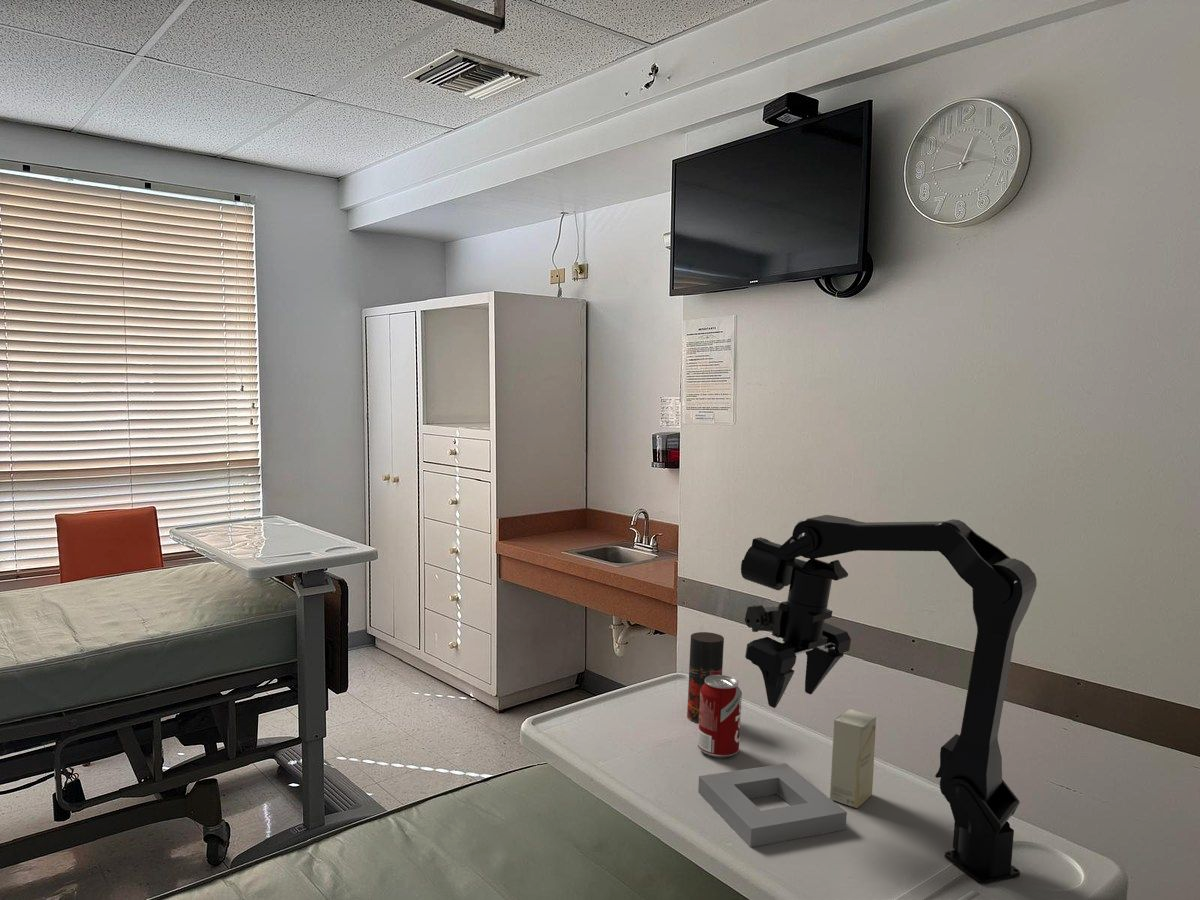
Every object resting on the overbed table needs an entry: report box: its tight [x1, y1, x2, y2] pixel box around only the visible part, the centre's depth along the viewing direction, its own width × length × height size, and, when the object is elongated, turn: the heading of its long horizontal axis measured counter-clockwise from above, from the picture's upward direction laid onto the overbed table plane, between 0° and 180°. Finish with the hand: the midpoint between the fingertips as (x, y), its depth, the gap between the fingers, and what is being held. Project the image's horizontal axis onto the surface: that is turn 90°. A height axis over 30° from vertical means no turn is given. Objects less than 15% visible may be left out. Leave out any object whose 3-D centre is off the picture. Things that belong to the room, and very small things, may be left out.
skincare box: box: [829, 708, 877, 809], centre depth 122 cm, size 6×4×12 cm
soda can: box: [697, 674, 743, 759], centre depth 135 cm, size 7×7×12 cm
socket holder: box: [697, 763, 848, 848], centre depth 117 cm, size 15×15×2 cm
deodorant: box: [686, 631, 725, 725], centre depth 149 cm, size 6×6×15 cm
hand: (790, 699), depth 122 cm, fingers open, 9 cm apart
